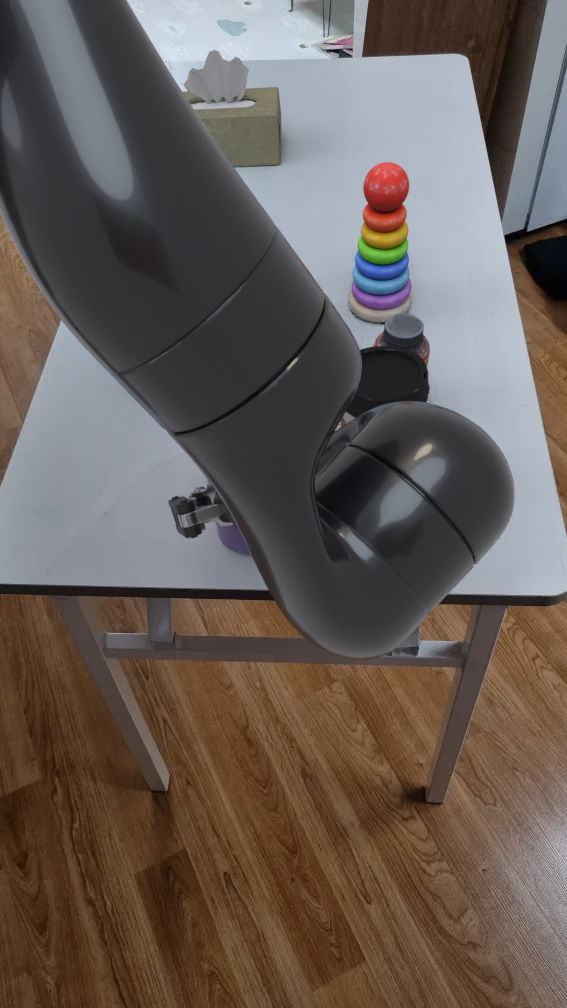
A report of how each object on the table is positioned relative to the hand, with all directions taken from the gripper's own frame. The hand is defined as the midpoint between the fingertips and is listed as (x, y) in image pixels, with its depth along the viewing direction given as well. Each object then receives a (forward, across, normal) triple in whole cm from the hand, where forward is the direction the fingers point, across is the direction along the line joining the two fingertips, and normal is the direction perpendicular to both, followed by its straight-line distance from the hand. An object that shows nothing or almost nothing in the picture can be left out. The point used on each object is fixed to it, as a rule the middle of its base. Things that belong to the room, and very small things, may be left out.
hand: (250, 484), depth 61 cm
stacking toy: (+30, -27, -14) cm, 43 cm away
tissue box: (+64, -21, -48) cm, 83 cm away
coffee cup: (+12, -14, +5) cm, 19 cm away
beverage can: (+11, 0, +6) cm, 12 cm away
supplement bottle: (+18, -21, -2) cm, 28 cm away
